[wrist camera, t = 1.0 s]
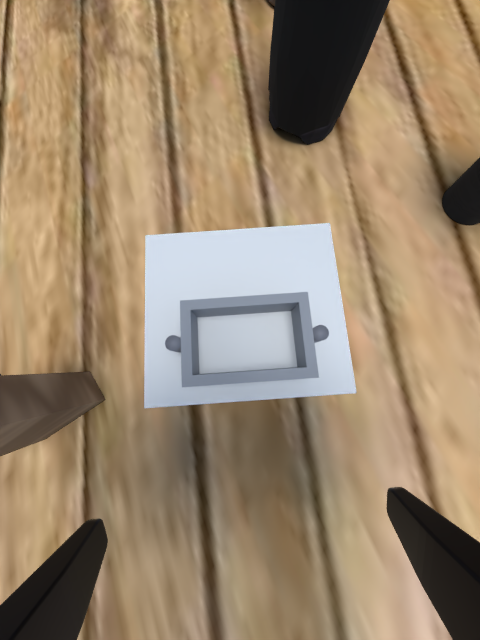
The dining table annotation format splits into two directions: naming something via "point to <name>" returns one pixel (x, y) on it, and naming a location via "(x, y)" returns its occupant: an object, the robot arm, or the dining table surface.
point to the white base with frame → (244, 317)
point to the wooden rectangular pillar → (42, 405)
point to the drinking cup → (464, 197)
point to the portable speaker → (317, 61)
